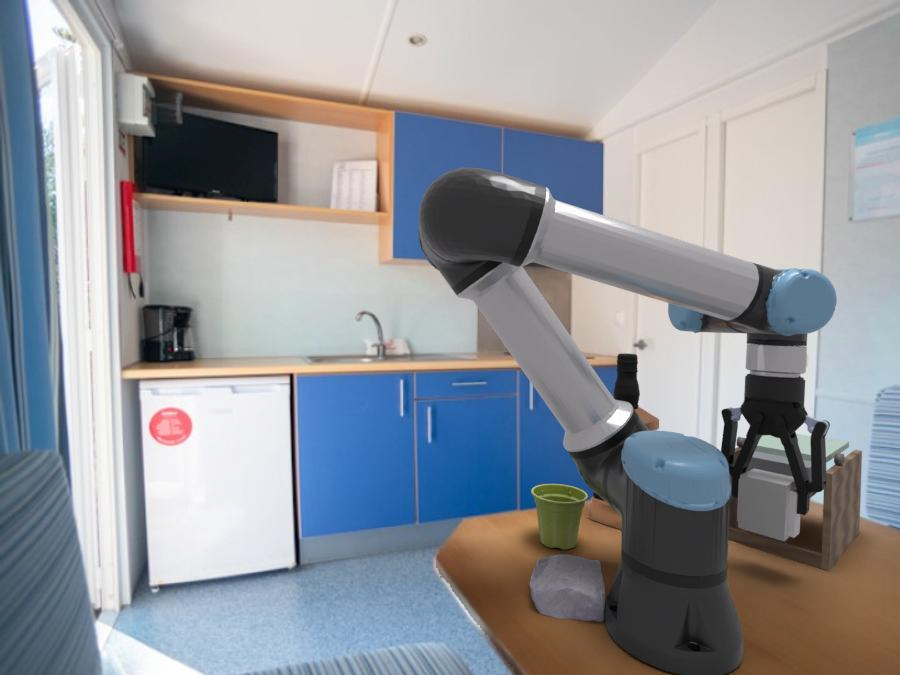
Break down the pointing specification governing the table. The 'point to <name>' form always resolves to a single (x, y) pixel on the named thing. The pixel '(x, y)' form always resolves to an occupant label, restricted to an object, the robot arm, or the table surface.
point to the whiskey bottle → (630, 393)
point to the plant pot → (559, 514)
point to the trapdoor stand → (837, 515)
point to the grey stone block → (765, 503)
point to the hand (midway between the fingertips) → (767, 526)
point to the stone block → (568, 588)
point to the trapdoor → (775, 459)
